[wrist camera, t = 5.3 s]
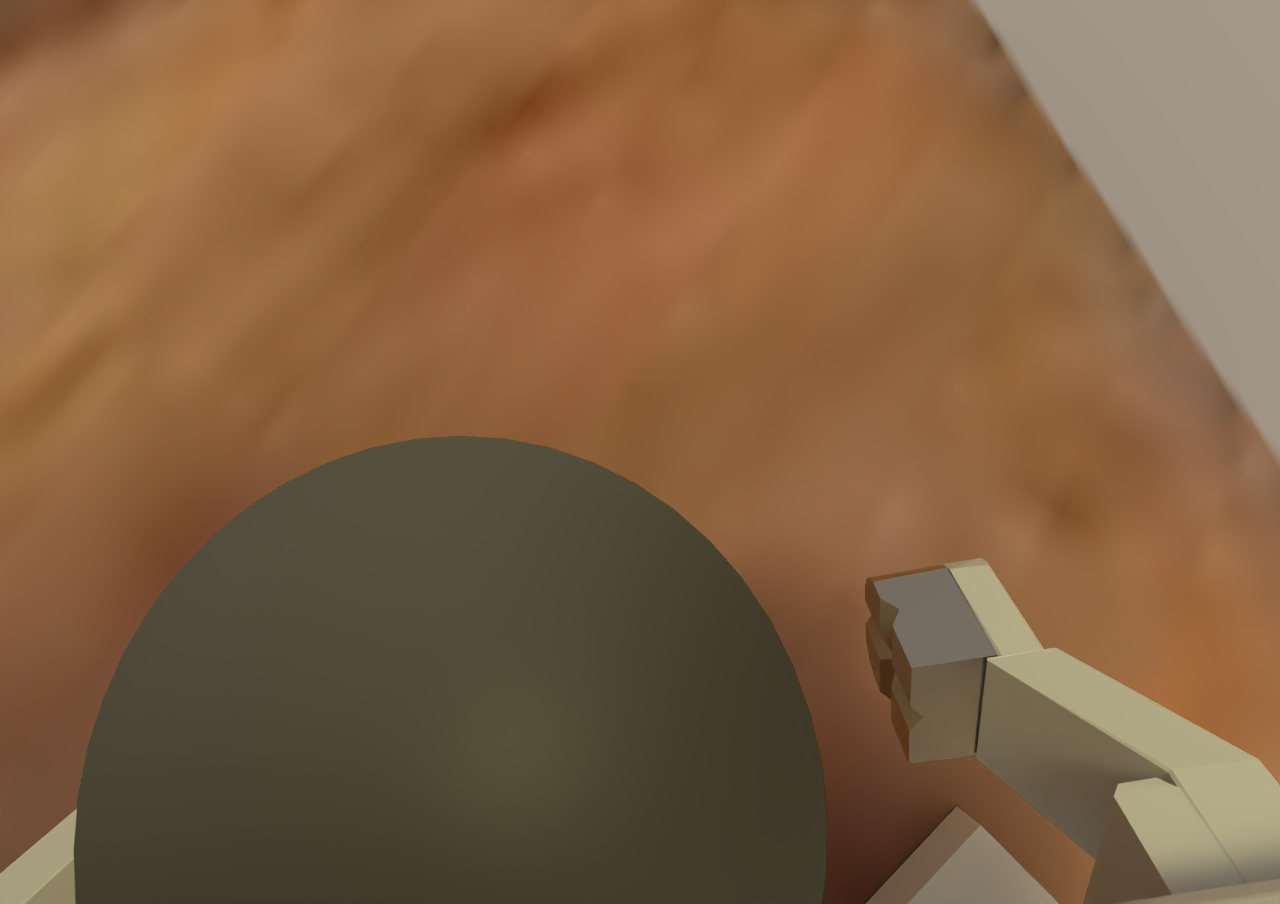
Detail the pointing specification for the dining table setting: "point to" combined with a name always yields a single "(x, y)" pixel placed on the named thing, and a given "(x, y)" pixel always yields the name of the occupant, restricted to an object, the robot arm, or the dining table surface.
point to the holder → (961, 870)
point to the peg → (454, 703)
